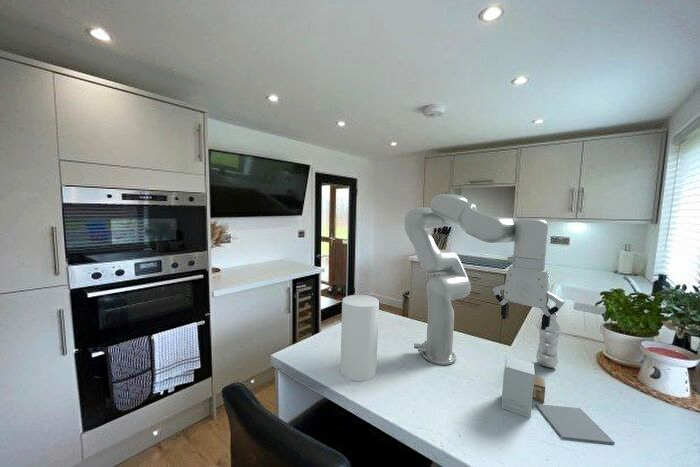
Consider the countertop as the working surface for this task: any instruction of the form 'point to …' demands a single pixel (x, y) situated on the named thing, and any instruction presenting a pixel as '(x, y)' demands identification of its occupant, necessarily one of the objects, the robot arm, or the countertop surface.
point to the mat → (574, 424)
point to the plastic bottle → (548, 343)
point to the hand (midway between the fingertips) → (523, 323)
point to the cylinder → (359, 337)
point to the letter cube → (539, 389)
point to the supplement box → (518, 386)
